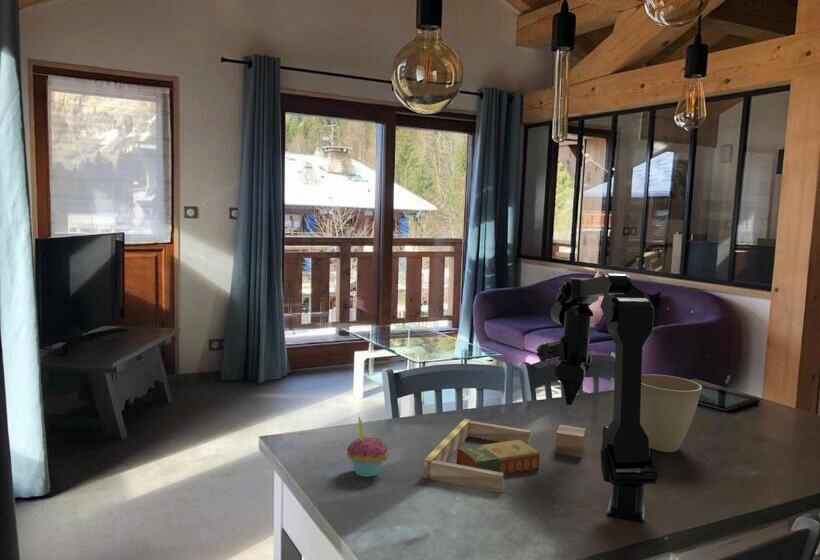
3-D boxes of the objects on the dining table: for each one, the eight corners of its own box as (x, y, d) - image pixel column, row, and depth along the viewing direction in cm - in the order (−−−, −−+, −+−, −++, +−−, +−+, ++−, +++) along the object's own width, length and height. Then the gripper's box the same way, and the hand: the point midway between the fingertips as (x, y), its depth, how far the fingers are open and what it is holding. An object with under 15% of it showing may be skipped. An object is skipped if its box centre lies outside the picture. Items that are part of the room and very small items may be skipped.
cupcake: (350, 482, 131) (352, 424, 130) (343, 465, 139) (344, 410, 138) (392, 478, 134) (394, 421, 132) (382, 462, 142) (384, 408, 140)
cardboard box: (581, 457, 149) (583, 436, 149) (555, 453, 151) (556, 432, 151) (584, 449, 155) (585, 428, 154) (558, 445, 157) (559, 424, 156)
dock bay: (500, 493, 129) (502, 474, 128) (423, 477, 135) (423, 459, 134) (529, 444, 156) (530, 429, 155) (463, 433, 162) (464, 418, 161)
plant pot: (698, 462, 148) (704, 394, 147) (629, 452, 153) (634, 385, 151) (693, 441, 162) (698, 378, 161) (629, 432, 167) (634, 371, 165)
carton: (539, 470, 142) (540, 451, 141) (475, 480, 135) (476, 460, 135) (517, 456, 149) (519, 437, 149) (455, 465, 143) (456, 446, 142)
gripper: (547, 322, 161) (543, 383, 163) (533, 336, 143) (529, 405, 145) (594, 326, 157) (589, 390, 159) (586, 342, 139) (580, 413, 142)
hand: (571, 399), depth 151 cm, fingers open, 9 cm apart
